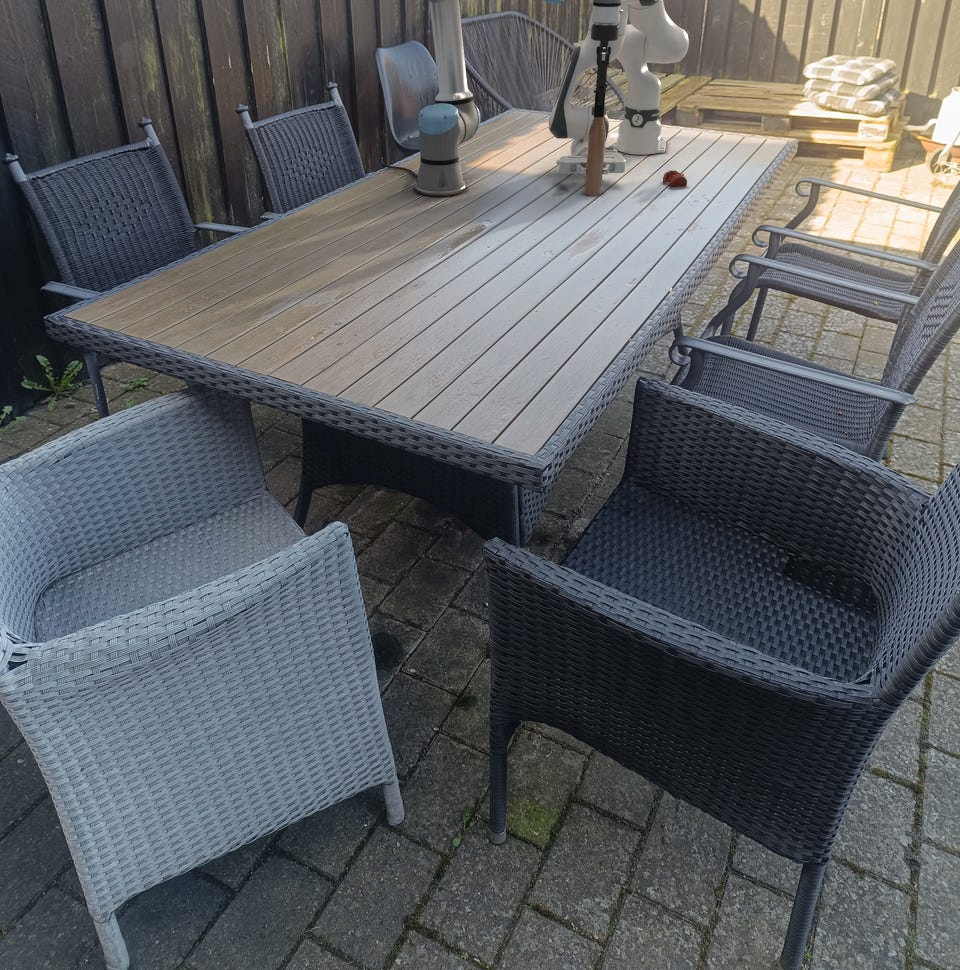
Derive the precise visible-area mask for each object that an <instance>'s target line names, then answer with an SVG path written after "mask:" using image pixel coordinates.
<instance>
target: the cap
mask: <svg viewBox="0 0 960 970" xmlns="http://www.w3.org/2000/svg"><path fill="white" fill-rule="evenodd" d="M591 107H592V115H593V116H594V109H595V104H592V106H591ZM606 114H607V105H606V104H605V105H604V116H605V115H606Z"/></svg>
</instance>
